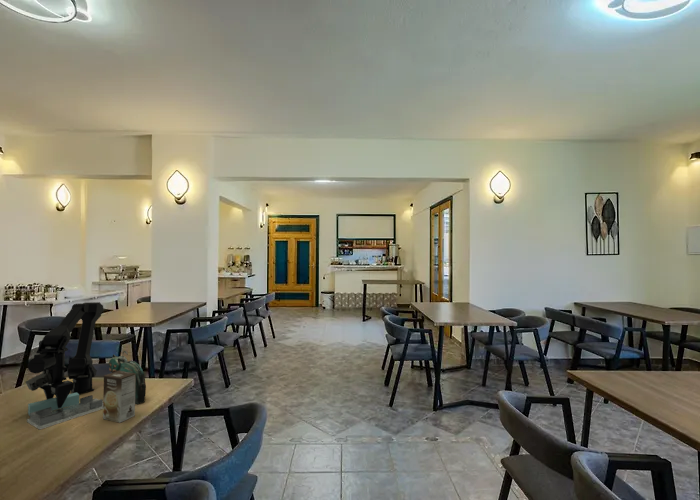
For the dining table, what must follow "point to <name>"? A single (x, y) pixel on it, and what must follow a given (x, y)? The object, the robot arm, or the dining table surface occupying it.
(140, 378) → the ceramic cat
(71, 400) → the rail
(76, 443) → the dining table surface
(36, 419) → the cup bracket
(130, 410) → the coffee box
